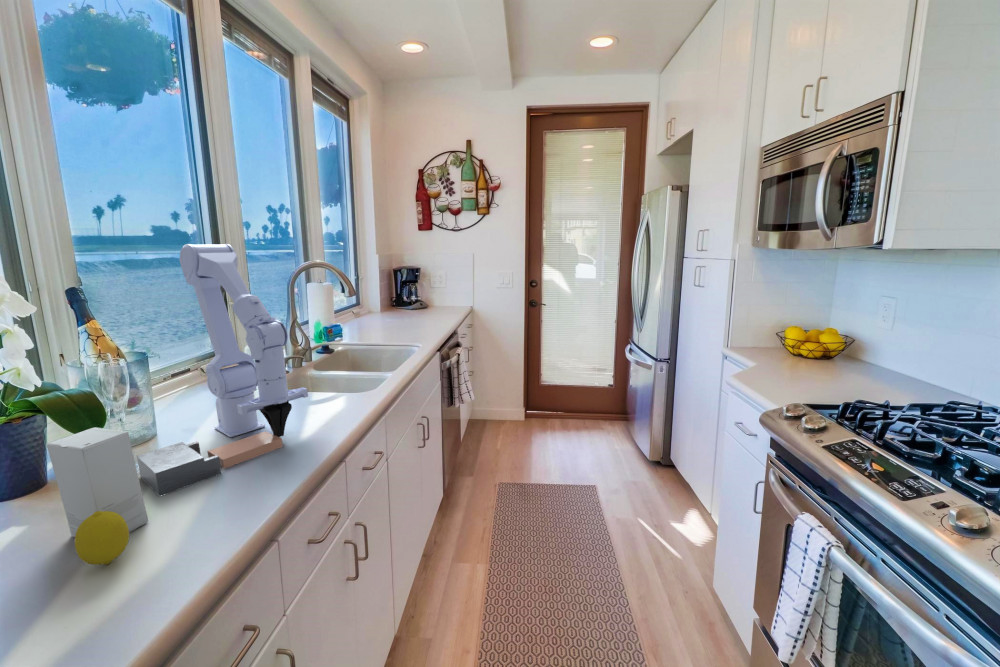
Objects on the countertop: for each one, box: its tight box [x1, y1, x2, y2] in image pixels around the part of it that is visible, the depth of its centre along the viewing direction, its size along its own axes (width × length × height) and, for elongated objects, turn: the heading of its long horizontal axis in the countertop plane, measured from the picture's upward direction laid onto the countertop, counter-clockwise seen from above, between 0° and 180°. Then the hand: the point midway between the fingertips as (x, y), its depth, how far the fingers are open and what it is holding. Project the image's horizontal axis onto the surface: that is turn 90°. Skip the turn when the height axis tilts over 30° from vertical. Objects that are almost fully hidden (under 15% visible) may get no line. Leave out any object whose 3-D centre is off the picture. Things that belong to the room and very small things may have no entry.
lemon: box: [74, 511, 130, 566], centre depth 62 cm, size 6×6×8 cm
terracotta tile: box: [206, 430, 284, 469], centre depth 96 cm, size 7×12×2 cm, turn 145°
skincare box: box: [46, 426, 149, 538], centre depth 69 cm, size 8×7×16 cm
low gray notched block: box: [136, 441, 222, 497], centre depth 87 cm, size 11×10×4 cm
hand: (278, 435), depth 101 cm, fingers closed
